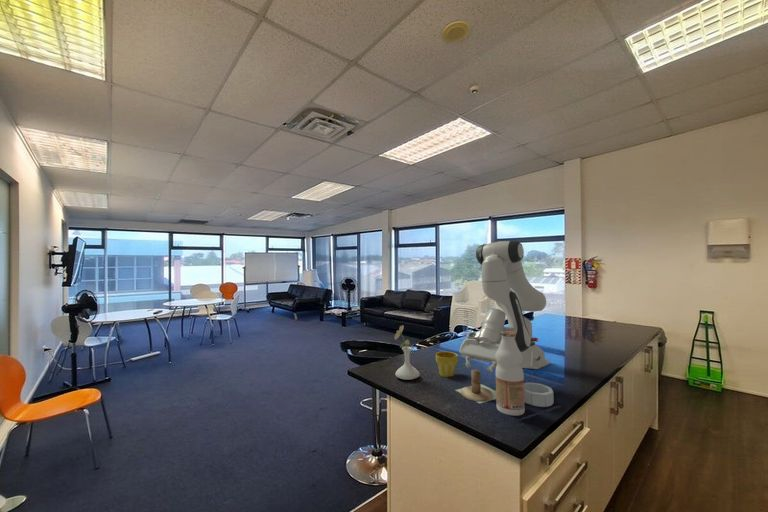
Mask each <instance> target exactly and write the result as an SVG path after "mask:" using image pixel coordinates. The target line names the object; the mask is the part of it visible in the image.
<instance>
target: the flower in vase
mask: <svg viewBox="0 0 768 512" xmlns="http://www.w3.org/2000/svg"><path fill="white" fill-rule="evenodd" d="M404 327H405V326H404V325H403V324H402V325H400V326H399V330H396V333H395V335H393V337H394V338H393V339H394V340H395V341H396V340H398V339H399V337H402V339H403V342H402V343H401V344H400V345H399V348H401V350H402V351H403V353H404V355H403V356H404V363H403V365H402V366H400V367H399V368H398V369H397V370H396V372H395V374H394V375H395V376H396V377H397V378H399V379H401V380H406V381H407V380H410V381H411V380H414V379H417V378H419V377H420V376H421V375H420V372H419V371H418V369H417V368H416V367H414V366H413V365H412V363H410V355H411V351H412V350H413V347H411V346H409V345H411V343H410V342H411V341H410V340H409V339H406V340H405V337H404V336H403V334H402V333H403V331H404ZM404 345H405V346H404Z"/></svg>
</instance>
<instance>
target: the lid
mask: <svg viewBox="0 0 768 512" xmlns="http://www.w3.org/2000/svg"><path fill="white" fill-rule="evenodd" d="M470 371H471V374H470V375H471V385H470V386H469V385H468V386H464V387H462V388H460V389H461V393H460V395H461V396H462V397H463V398H464V399H467V400H469V401H474V402H476V401H487V400H490V399H491V398H492V392H491V391H490V390H488V389H486V388H483V387H481V370H479V369H475V368H474V369H471V370H470ZM487 402H488V401H487Z"/></svg>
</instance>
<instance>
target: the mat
mask: <svg viewBox="0 0 768 512" xmlns="http://www.w3.org/2000/svg"><path fill="white" fill-rule="evenodd" d="M480 384H481V383H480ZM481 387H483V388H486V389H488V390H490V391H491V392H492V398H491V399H490V400H487V401H475V403H478V404H480V405H481V404H483V403H487V402H490V401H493V400H496V389H492V388H491V387H489V386H486V385H484V384H481ZM461 389H462V388H457V389H455V392H457V393H460V394H461Z"/></svg>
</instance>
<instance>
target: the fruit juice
mask: <svg viewBox="0 0 768 512" xmlns="http://www.w3.org/2000/svg"><path fill="white" fill-rule="evenodd" d="M515 336H516V334H515V332H512V331H502V332H501V337H502V340H501V343H500V346H499V348H498V350H497V351H496V356H495V357H496V361H497V366H496V367H495V391H496V399H495V401H496V409H497V411H499V412H500V413H502V414H505V415H508V416H513V417H514V416H522V415H524V413H525V411H526V409H525V407H526V406H525V405H526V403H525V402H524V383H525V382H524V381H525V378H524V377H525V374H524V368H522V361H523V357H522V354H521V352H520V351H519V349H518V346H517V344H516V341H515Z"/></svg>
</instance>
